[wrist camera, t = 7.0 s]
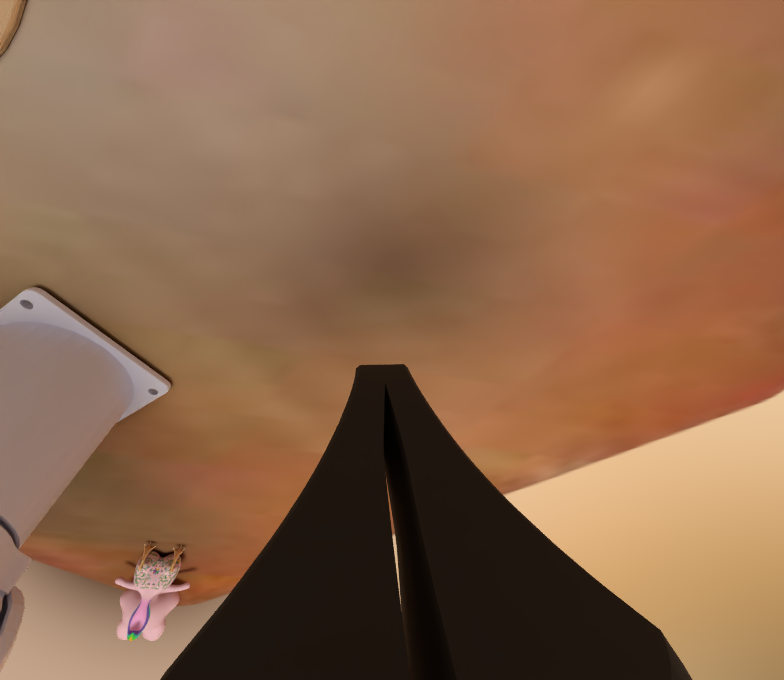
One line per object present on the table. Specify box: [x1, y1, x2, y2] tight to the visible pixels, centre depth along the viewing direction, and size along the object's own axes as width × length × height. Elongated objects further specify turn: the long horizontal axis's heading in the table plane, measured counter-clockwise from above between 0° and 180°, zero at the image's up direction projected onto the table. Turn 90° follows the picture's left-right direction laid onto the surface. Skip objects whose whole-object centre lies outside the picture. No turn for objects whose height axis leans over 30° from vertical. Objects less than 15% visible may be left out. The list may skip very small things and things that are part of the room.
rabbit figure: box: [115, 542, 190, 641], centre depth 32 cm, size 6×6×15 cm
